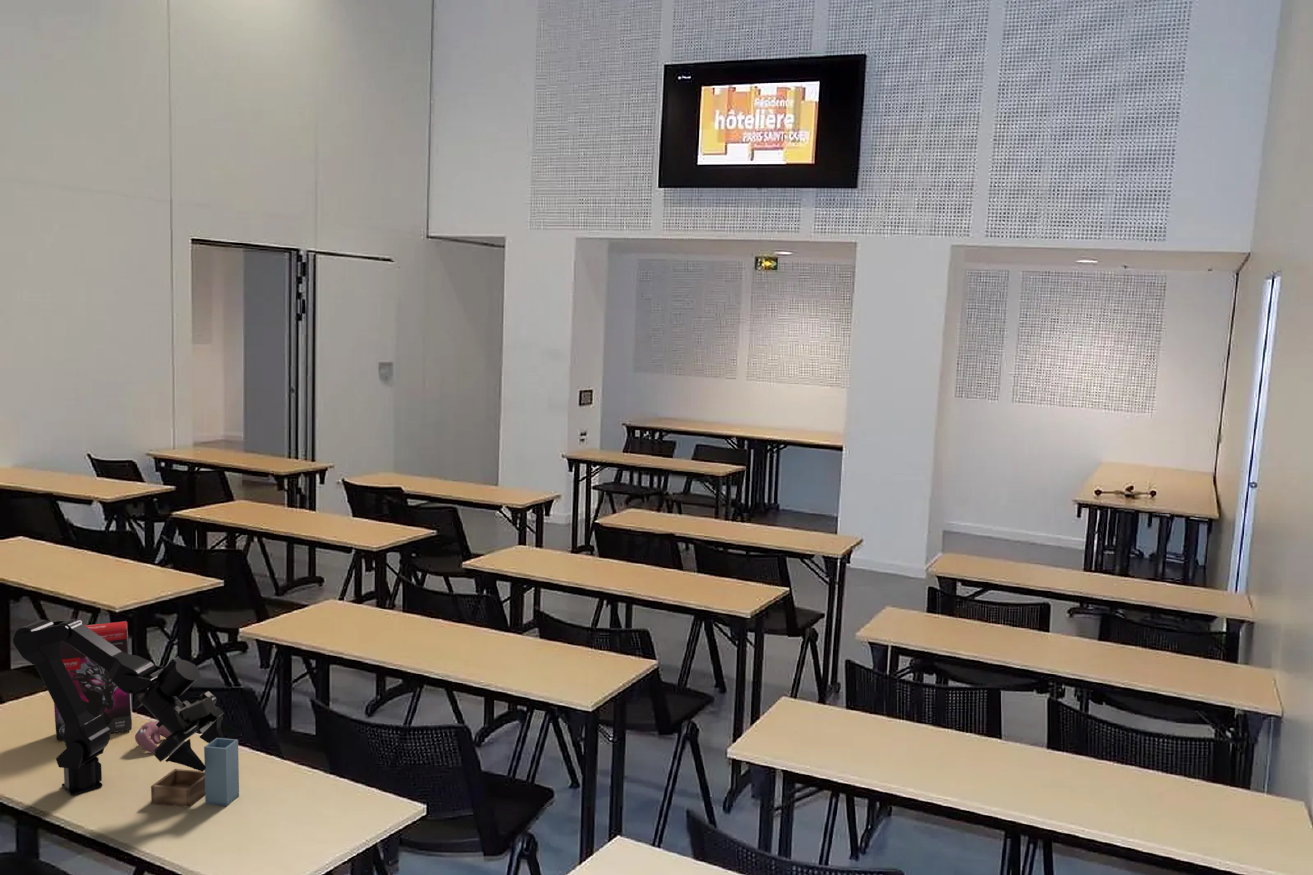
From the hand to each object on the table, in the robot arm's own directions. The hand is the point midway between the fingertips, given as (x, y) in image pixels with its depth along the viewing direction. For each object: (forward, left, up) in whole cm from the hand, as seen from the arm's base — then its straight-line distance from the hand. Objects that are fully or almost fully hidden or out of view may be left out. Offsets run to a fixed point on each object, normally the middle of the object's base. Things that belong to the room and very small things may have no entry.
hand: (216, 760), depth 228 cm
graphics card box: (-6, +56, -9) cm, 57 cm away
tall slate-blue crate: (+1, -1, -9) cm, 9 cm away
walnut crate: (-5, +7, -9) cm, 12 cm away
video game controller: (+2, +38, -9) cm, 39 cm away
